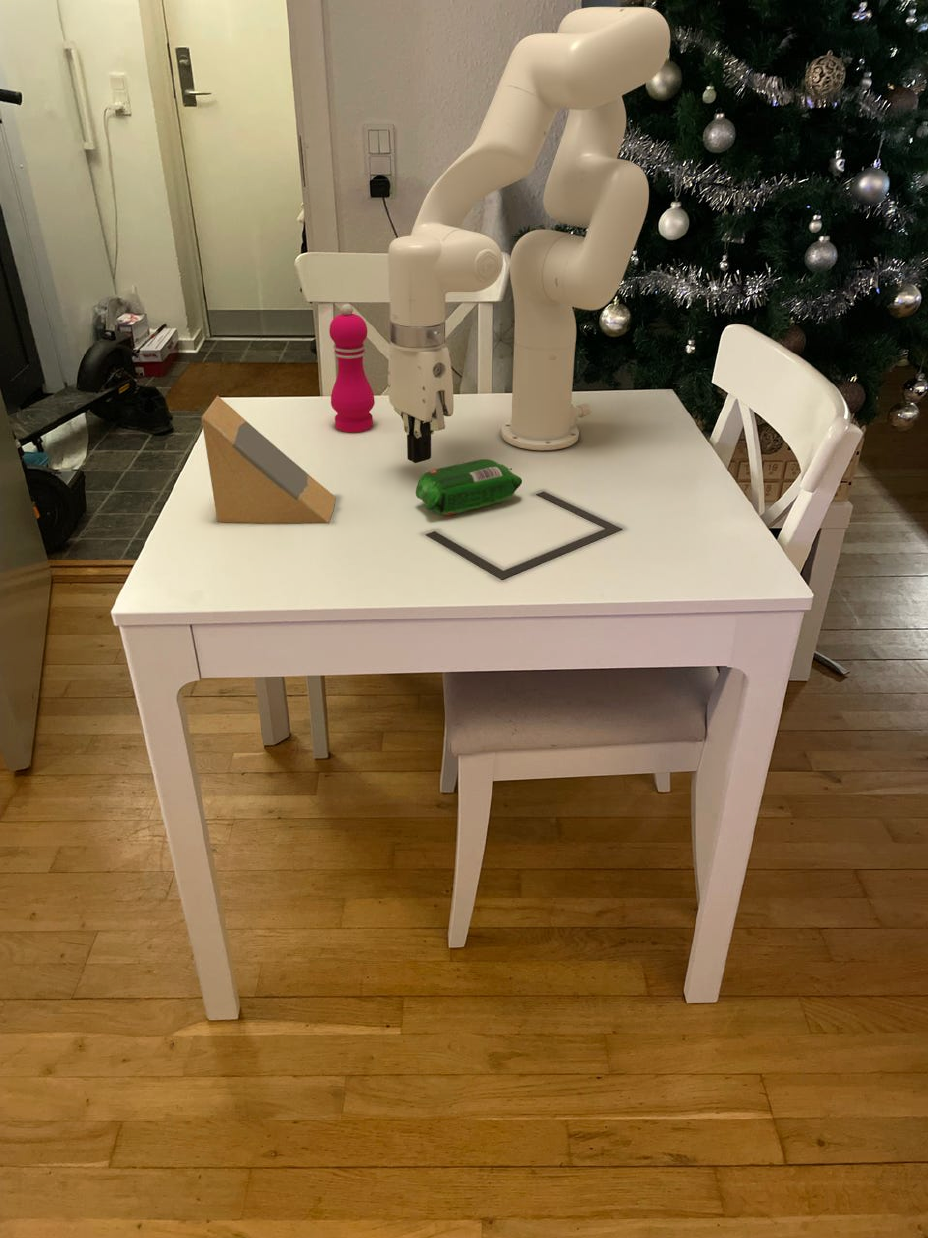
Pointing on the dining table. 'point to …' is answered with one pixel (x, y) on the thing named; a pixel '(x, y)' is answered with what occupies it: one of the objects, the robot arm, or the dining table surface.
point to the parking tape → (542, 558)
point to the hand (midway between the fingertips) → (419, 459)
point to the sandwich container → (257, 475)
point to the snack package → (466, 486)
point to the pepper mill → (351, 373)
